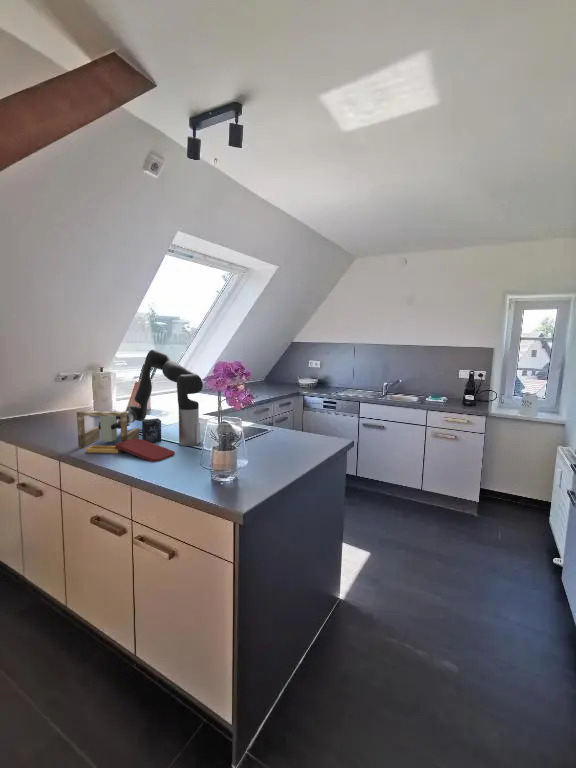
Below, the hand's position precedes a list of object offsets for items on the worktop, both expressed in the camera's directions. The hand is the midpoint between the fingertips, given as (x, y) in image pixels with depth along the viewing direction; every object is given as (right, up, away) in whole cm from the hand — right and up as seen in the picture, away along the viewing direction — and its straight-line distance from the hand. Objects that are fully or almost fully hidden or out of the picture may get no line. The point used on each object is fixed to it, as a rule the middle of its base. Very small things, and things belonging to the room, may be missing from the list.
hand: (105, 427), depth 170 cm
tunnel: (0, -8, +5) cm, 9 cm away
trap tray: (+3, -10, -7) cm, 13 cm away
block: (0, -6, +3) cm, 7 cm away
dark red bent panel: (+21, -11, -9) cm, 25 cm away
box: (+17, -8, +11) cm, 22 cm away
